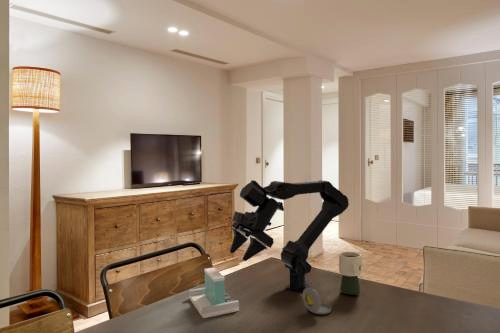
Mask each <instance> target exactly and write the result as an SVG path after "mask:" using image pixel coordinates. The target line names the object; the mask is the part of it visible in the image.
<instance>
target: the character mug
mask: <svg viewBox="0 0 500 333" xmlns="http://www.w3.org/2000/svg"><path fill="white" fill-rule="evenodd" d="M338 271H339V273H340V275H342V276H341V281H340V290H339V291H340V292H341V293H343V294H344V295H345V294H346V295H350V296H352V295H353V296H357V295H360V293H361V289H360V286H361V285H360V280H359V279H360V278H359V277H358V276H360V275H361V274H362V254H361V253H359V252H356V251H347V250H346V251H341V252H339V253H338Z"/></svg>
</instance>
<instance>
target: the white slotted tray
mask: <svg viewBox="0 0 500 333" xmlns="http://www.w3.org/2000/svg"><path fill="white" fill-rule="evenodd" d="M188 294H189V295H188V296H189V300H190V301H191V303H192V304H193V306H194V307H195V309H196V310H197V311H198V313H199V315H200V316H201V317H202V319H206V318H212V317H216V316H217V317H218V316H220V315H225V314H230V313H234V312H238V311H240V301H239V300H235V299H233V298H232V297H231V296H230V295H229V293H227V292H226V291H225V303H221V304H216V305H213V304H212V302H211V301H210V300H209V299H208V298H207V296H206V295H205V286H204V287H198V288H194V289H189V291H188Z"/></svg>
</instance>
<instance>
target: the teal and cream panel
mask: <svg viewBox="0 0 500 333" xmlns="http://www.w3.org/2000/svg"><path fill="white" fill-rule="evenodd" d="M203 272H204V287H205V295H206V296H207V298H208V299H209V300H210V301H211V302H212V304H213V305H216V304H221V303H225V292H226V290H225V289H226V288H225V286H226V285H225V283H226V282H225V281H226V279H225V278H226V277H225V276H224V275H222V274H221V272H219V271H218V270H217V268H215V267H207V268H203Z"/></svg>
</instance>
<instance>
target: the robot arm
mask: <svg viewBox="0 0 500 333" xmlns="http://www.w3.org/2000/svg"><path fill="white" fill-rule="evenodd" d="M317 193H318V194H319V196H320V198H321V199H322V201H323V202H322V203H321V210H320V211H319V213H318V214H316V216H315V217H314V219H313V220H312V221H311V223H309V225H308V226H307V228H306V229H305V230H304V231H303V233H301V235H300V237H299V238H298V239H297V240H295V241H292V240H288V241H287V243H286V244H285V246H284V247H282V251H281V253H280V260H281V263H282V264H283V265H284V268H285V269H288V274H289V275H288V284H287V285H286V286H285V290H291V291H296V292H299V293H303V291H304V290H305V289H306V288H310V284H309V283H307V281H306V280H307V274H309V273H311V271H312V265H311V264H310V263H309V262H308V260H307V259H308V257H309V250H310V249H311V247H312V246H313V245H314V244H315V242H316V240H318V238H319V237H320V236H321V235H322V233H323V232H324V231H325V229H326V228H327V227H328V225H329V224H330V223H331V221H332V220H333V219H334V218H336V217H338V216H340V215H342V214H343V213H344V212H345V211H346V210H347V209H348V208H349V205H350V203H349V198H348V196H347V195H345V194H344V193H343V192H342V191H340V190H339V189H338V188H336V187H335V186H334V185H333V184H332V183H331V182H330V181H329V180H316V181H305V182H304V181H303V182H292V183H291V182H286V181H278V180H273V181H270V183H269V184H268V185H266V186H264V187H263V186H261V185H260V184H259V183H258V182H257V181H256V180H254V179H252V180H251V181H250V182H249V183H247V184H246V185H245V186H244V187H242V189H241V190H240V192H239V197H240V198H242V199H243V200H244V201H245V202H247V203H248V204H249V205H250V206H251V207H253V208H256V207H257V208H256V210H255V211H251V212H249V211H245V212H241V211H235V210H234V212H233V213H234V214H233V216H232V220H231V221H232V222H233V223H232V225H231V228H232V229H231V230H232V232H233V239H232V244H231V246H230V248H229V253H230V254H234V253H235V252H236V251H237V250H238V249H240V247H242V246H243V245H244V244H245V243H246V242H247V241H248V240H249V244H248V247H247V249H246V251H245V253H244V255H243V257H242V261H244V262H247V261H249V259H252V258H253V257H255V255H257V254H260V253H261V252H263V251H264V250H267V249H268V248H272V246H273V245H274V238H273V237H272V236H270V235H269V234H268V233H266V232H265V230H266V228H267V227H268V226H269V227H271V225H272V224H273V223H272V222H271V221H272V219H273V217H274V216H275V214H276V212H277V211H282V212H284V211H285V207H284V203H283V201H285V200H288V199H289V200H290V199H292V198H294V197H296V196H298V195H306V194H317ZM268 196H269V197H270V198H269V197H268ZM276 199H277V200H283V201H277V200H276Z"/></svg>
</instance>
